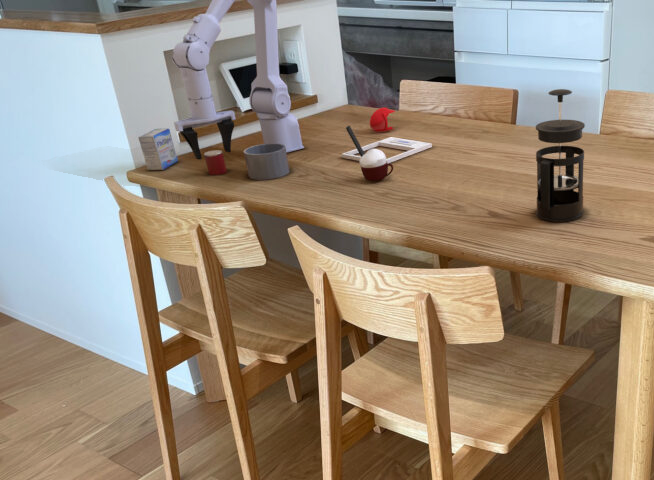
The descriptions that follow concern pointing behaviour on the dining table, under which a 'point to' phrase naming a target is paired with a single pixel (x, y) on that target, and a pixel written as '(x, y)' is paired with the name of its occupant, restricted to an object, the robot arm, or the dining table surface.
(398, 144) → the photo frame
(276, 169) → the bucket
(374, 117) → the cap
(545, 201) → the french press
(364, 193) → the dining table surface
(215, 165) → the coffee pod
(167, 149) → the medicine box
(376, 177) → the cocoa
